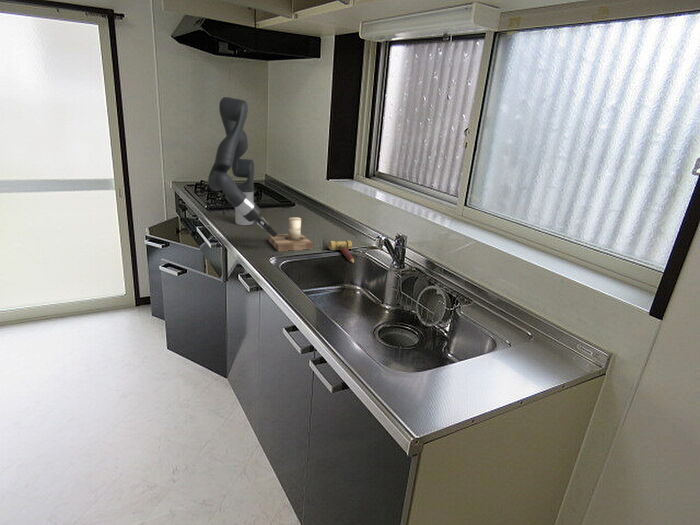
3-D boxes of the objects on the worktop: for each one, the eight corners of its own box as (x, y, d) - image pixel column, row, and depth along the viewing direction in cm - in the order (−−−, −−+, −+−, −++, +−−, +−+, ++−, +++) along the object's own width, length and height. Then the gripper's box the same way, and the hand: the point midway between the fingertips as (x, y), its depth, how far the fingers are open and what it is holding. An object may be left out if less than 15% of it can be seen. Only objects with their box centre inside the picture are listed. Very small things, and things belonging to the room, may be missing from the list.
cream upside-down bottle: (286, 242, 209) (287, 217, 205) (297, 241, 211) (298, 217, 207) (290, 246, 204) (291, 220, 200) (301, 245, 207) (303, 220, 203)
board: (268, 240, 211) (268, 234, 210) (300, 239, 217) (300, 233, 216) (278, 251, 197) (278, 245, 196) (312, 249, 204) (312, 243, 203)
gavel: (364, 256, 191) (342, 257, 188) (363, 266, 193) (341, 267, 190) (349, 239, 209) (329, 239, 206) (348, 248, 211) (328, 248, 208)
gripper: (257, 206, 187) (283, 231, 196) (249, 198, 199) (274, 222, 208) (245, 218, 187) (271, 243, 195) (237, 210, 198) (262, 234, 207)
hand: (272, 232), depth 202 cm, fingers open, 8 cm apart
